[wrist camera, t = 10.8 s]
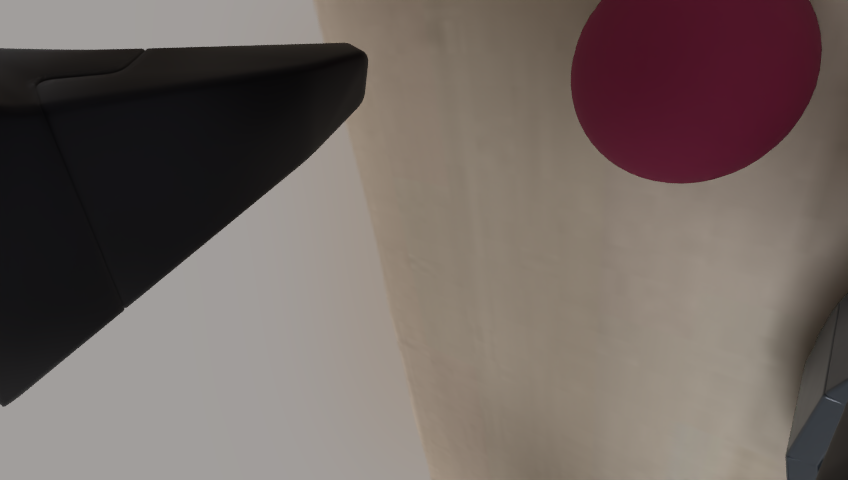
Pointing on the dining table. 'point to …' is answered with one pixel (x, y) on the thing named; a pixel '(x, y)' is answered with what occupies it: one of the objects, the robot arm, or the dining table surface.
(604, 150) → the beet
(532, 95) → the dining table surface
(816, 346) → the pot
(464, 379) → the dining table surface
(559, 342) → the dining table surface
